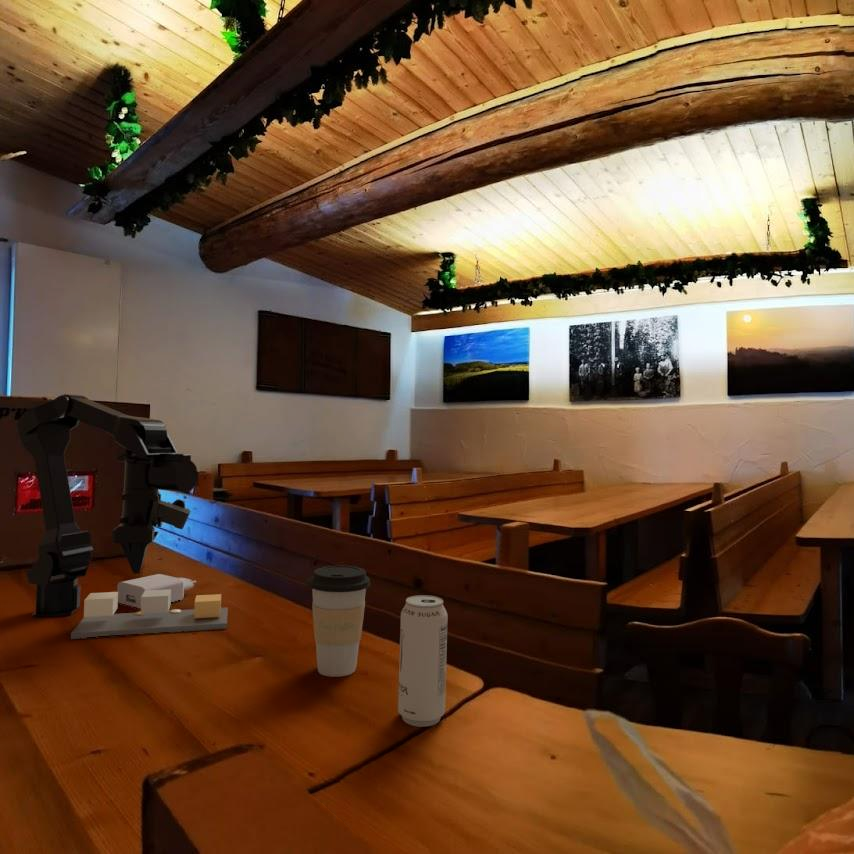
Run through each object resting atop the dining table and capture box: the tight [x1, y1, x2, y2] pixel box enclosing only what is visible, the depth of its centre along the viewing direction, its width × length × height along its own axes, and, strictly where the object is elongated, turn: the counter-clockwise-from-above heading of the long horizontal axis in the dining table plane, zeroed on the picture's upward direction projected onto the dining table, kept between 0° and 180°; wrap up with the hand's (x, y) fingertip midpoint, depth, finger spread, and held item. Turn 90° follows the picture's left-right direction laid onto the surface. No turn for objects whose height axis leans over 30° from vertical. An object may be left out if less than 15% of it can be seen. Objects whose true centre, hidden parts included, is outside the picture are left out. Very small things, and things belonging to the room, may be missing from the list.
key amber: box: [193, 593, 222, 618], centre depth 112 cm, size 4×4×3 cm
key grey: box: [140, 589, 172, 614], centre depth 109 cm, size 4×4×3 cm
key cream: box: [83, 591, 119, 618], centre depth 106 cm, size 4×4×3 cm
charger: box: [116, 573, 197, 608], centre depth 126 cm, size 5×9×15 cm
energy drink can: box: [397, 594, 448, 728], centre depth 76 cm, size 6×6×15 cm
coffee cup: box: [307, 565, 371, 678], centre depth 91 cm, size 9×9×15 cm
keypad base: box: [70, 607, 229, 640], centre depth 109 cm, size 25×10×1 cm, turn 108°
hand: (136, 573), depth 108 cm, fingers closed
